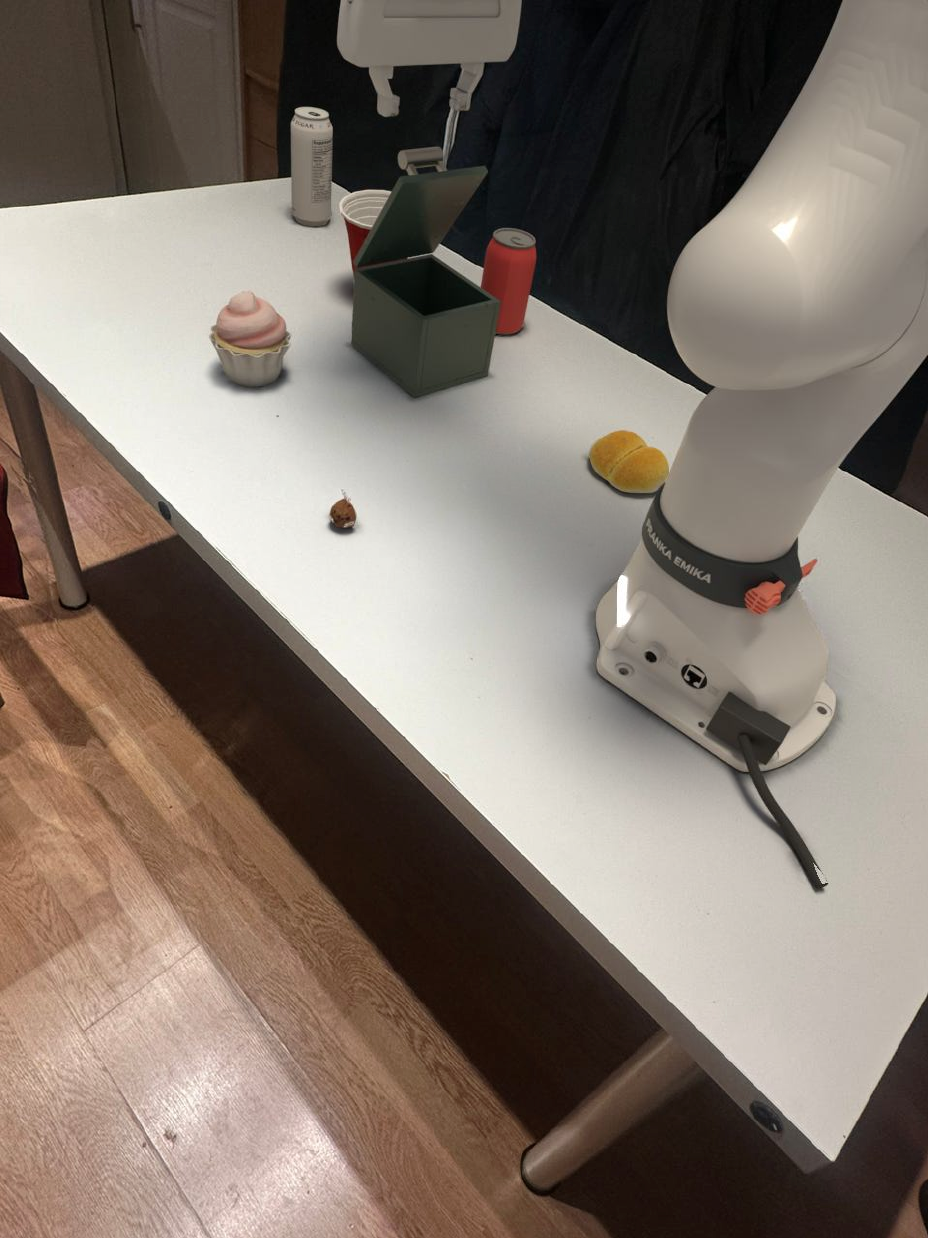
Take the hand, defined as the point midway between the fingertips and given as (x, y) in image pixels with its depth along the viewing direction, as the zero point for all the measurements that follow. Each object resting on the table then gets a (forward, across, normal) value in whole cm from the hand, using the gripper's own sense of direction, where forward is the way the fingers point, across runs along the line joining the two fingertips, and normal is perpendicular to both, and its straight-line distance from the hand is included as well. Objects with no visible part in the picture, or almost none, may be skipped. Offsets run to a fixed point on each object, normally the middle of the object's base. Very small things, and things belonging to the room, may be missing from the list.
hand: (424, 111), depth 86 cm
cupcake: (+27, -20, +3) cm, 34 cm away
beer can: (+27, +16, 0) cm, 31 cm away
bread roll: (+27, +7, -33) cm, 44 cm away
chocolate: (+27, -26, -25) cm, 45 cm away
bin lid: (+11, 0, -1) cm, 11 cm away
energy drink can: (+27, +10, +39) cm, 48 cm away
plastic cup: (+27, +5, +14) cm, 31 cm away
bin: (+27, 0, -3) cm, 27 cm away
